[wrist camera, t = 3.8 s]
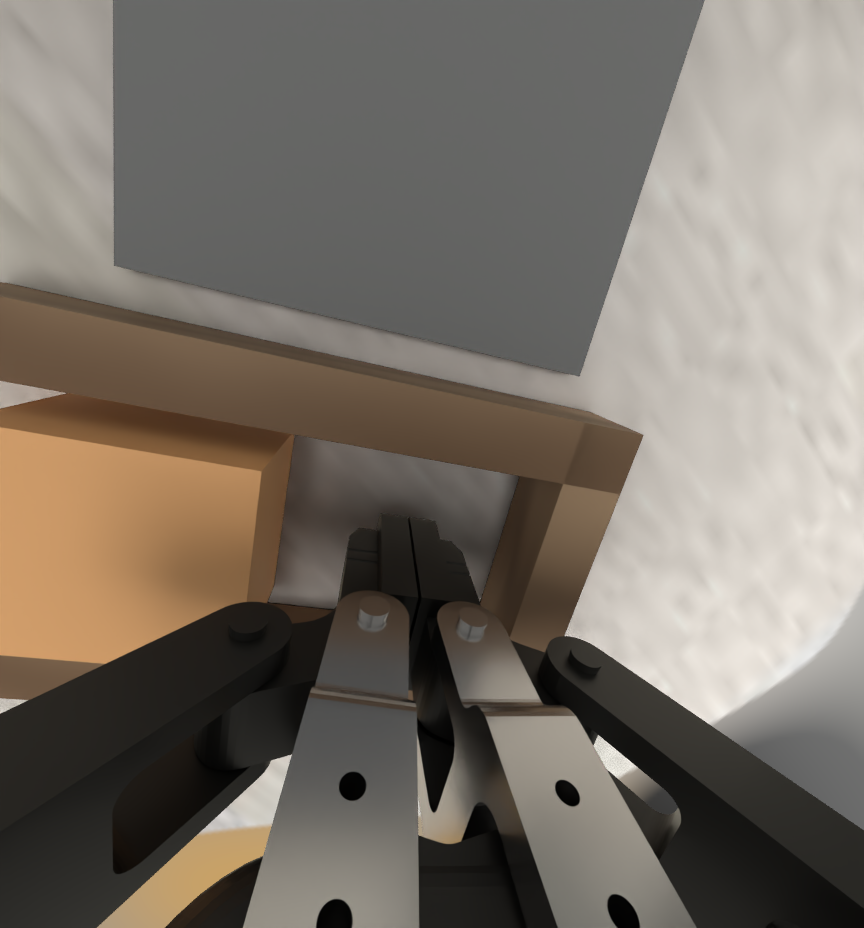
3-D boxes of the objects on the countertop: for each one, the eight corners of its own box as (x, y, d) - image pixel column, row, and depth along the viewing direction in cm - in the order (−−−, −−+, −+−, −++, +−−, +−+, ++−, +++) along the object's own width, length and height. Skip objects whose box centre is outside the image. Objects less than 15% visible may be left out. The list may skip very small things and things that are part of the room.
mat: (135, -524, 6) (111, -612, 6) (750, -183, 8) (777, -219, 8) (130, 268, 9) (114, 265, 9) (569, 373, 11) (579, 376, 11)
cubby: (5, 282, 9) (-125, 268, 7) (591, 412, 12) (643, 434, 9) (31, 620, 12) (-55, 695, 9) (502, 664, 14) (526, 731, 12)
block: (91, 388, 10) (-46, 419, 7) (296, 427, 11) (261, 471, 8) (93, 560, 12) (-19, 653, 8) (275, 582, 13) (237, 674, 9)
